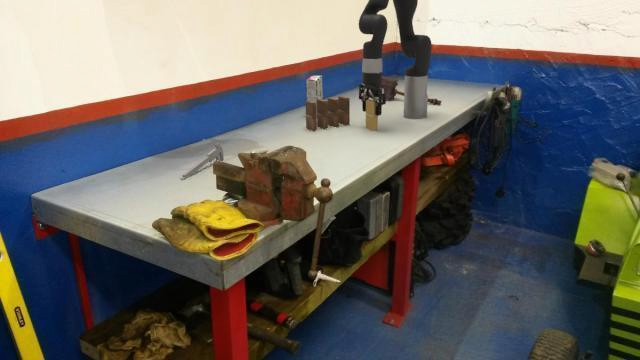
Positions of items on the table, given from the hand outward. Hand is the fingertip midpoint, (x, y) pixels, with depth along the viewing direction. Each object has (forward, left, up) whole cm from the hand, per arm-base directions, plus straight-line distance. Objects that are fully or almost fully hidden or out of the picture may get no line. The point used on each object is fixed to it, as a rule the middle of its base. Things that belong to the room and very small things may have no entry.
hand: (371, 113), depth 194 cm
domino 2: (+19, -4, -6) cm, 20 cm away
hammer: (-22, -50, -7) cm, 55 cm away
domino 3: (+15, -6, -6) cm, 17 cm away
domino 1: (+23, -1, -6) cm, 24 cm away
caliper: (+56, +44, -7) cm, 72 cm away
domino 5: (0, 0, -6) cm, 6 cm away
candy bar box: (+22, -25, -6) cm, 34 cm away
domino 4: (+10, -9, -6) cm, 15 cm away
